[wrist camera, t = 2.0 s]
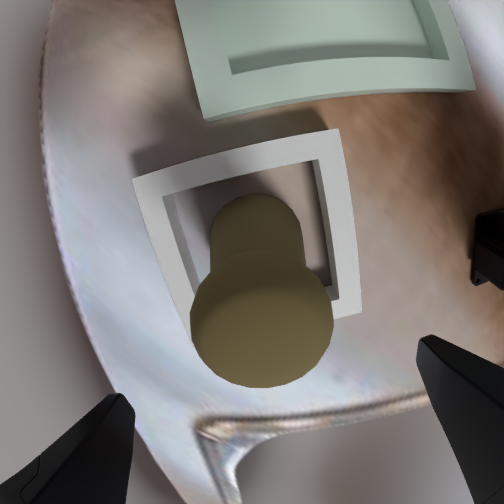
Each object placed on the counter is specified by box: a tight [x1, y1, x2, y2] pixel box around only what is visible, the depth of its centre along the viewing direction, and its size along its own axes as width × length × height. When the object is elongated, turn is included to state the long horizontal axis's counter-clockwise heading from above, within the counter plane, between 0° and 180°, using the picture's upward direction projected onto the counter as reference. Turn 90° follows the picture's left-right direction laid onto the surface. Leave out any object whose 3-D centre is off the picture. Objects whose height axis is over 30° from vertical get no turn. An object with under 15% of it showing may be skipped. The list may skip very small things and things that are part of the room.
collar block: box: [132, 129, 362, 347], centre depth 18 cm, size 12×12×2 cm
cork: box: [189, 194, 334, 388], centre depth 14 cm, size 6×6×11 cm
